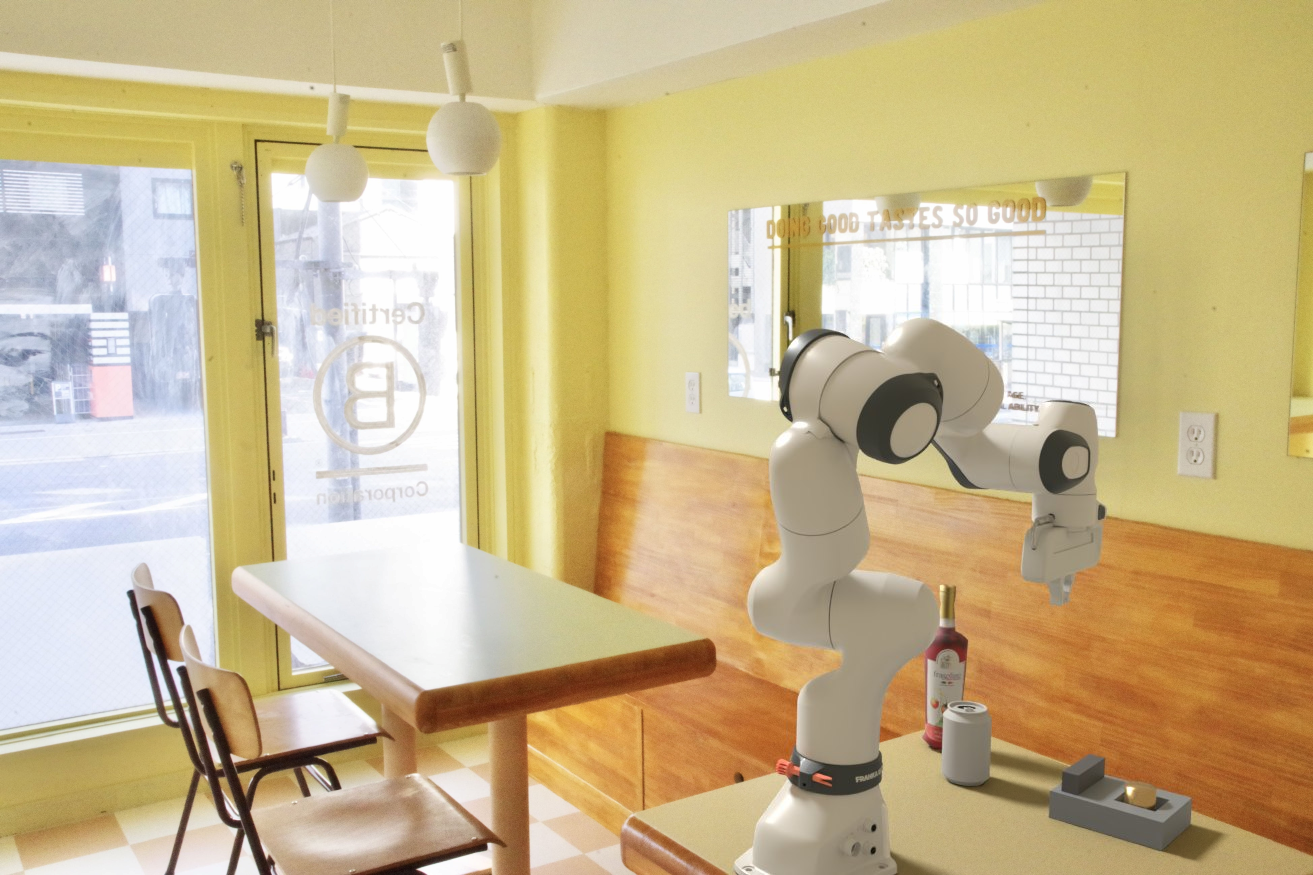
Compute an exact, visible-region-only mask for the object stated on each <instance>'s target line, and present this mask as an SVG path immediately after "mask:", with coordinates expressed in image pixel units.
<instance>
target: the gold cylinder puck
mask: <svg viewBox="0 0 1313 875" xmlns="http://www.w3.org/2000/svg"><path fill="white" fill-rule="evenodd" d="M1129 781H1130V780H1129ZM1156 788H1157V787H1156V786H1155V785H1153V784H1151V783H1148V782H1144V781H1136V780H1131V781H1130V782H1126V783H1125V794H1124V803H1126V804H1130V805H1133V806H1137V807H1140V808H1144V809H1147V810H1151V811H1156V791H1157V789H1158V788H1157V789H1156Z"/></svg>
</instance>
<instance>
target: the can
mask: <svg viewBox="0 0 1313 875" xmlns="http://www.w3.org/2000/svg"><path fill="white" fill-rule="evenodd" d="M988 708H989V707H988V706H987V705H985V704H982V703H981V702H975V701H970V700H963V701H953V702H950V703H949V704H948V709H947V710H946V711H945V712H944V713H943V738H942V750H941V767H940V768H941V769H940V770H941V774H942V775H943V776H944V777H945V778H946V780H947V781H948V782H951V783H953V784H955V785H959V786H964V787H965V786H966V787H975V786H981V785H982V784H984V783H985V782H986V781H988V779H989V778H990V776H991V775H990V773H991V746H992V725H993V724H992V723H993V721H992V720H993V719H992V718H993V717H992V716H991V715H990V713H988V710H989V709H988Z"/></svg>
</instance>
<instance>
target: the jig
mask: <svg viewBox="0 0 1313 875" xmlns="http://www.w3.org/2000/svg"><path fill="white" fill-rule="evenodd" d="M1105 770H1106V757H1105V756H1100V755H1095V754H1092V753H1088V754H1087V755H1086V756H1083V757H1082V758H1081V759H1079V760H1077V761H1075V763H1072V764H1071V765H1070V766H1068V767H1067V768H1065V769H1064V770H1062V772H1061V783H1060V784H1057V785H1056V786H1055V787H1052V789H1049V804H1048V805H1049V806H1048V818H1050V819H1054V820H1057V821H1061V822H1064V823H1067V824H1071V825H1074V826H1077V827H1081V828H1084V829H1087V830H1091V831H1094V832H1097V833H1100V834H1103V835H1108V836H1110V837H1114V838H1117V839H1120V840H1124V841H1128V842H1131V843H1134V844H1138V845H1139V846H1140V845H1141V846H1144V847H1147V848H1150V849H1153V850H1158V851H1163V850H1165V848H1166V847H1168V846H1169V845H1170V844H1171V843H1172V842H1174V840H1176V838H1177V837H1178V836H1180V835H1181V834H1182V833H1183V832H1184V831H1185V830H1186V829H1188V828H1189V827H1190V826H1191V825H1192V824H1191V823H1192V805H1193V803H1192V802H1193V797H1189V796H1187V795H1183V794H1179V793H1175V792H1171V791H1168V790H1165V789H1164V790H1163V789H1160V788H1157V787H1156V789H1157V791H1156V811H1151V810H1147V809H1144V808H1140V807H1137V806H1133V805H1130V804H1126V803H1124V794H1125V783H1126V782H1130V780H1126V779H1123V778H1118V777H1116V776H1111V775H1107V774H1105V773H1106V772H1105Z"/></svg>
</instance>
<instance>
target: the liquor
mask: <svg viewBox="0 0 1313 875" xmlns="http://www.w3.org/2000/svg"><path fill="white" fill-rule="evenodd" d="M956 596H957V586H956V585H953V584H940V585H939V600H940V606H939V610H940V625H939V629H938V632H937V635H936V637H935V639H934V641H933V642H932V644H931V645H930V646H929V647H928V648H927V649H926V650H925V651H924V652H923V654H924V659H923V660H924V661H923V662H924V663H923V664H924V666H923V667H924V688H925V689H924V691H925V692H924V695H925V696H924V698H925V700H924V701H925V705H924V706H925V708H924V709H925V713H924V714H925V715H924V716H925V718H924V719H925V720H924V733H923V735H922V737H921V738H922V739H923V740H924V742H925V743H926V744H927V745H928V746H929V747H930V748H931V749H934V750H937V751H942V738H943V713H944V712H945V711H946V710H947V709H948V704H949V703H950V702H953V701H964V695H965V694H964V692H965V683H966V673H967V659H968V648H969V639H968V638H967V637H966V636H965V635H963V633H960V632H958V631H957V630H956V614H955V601H956Z"/></svg>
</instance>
